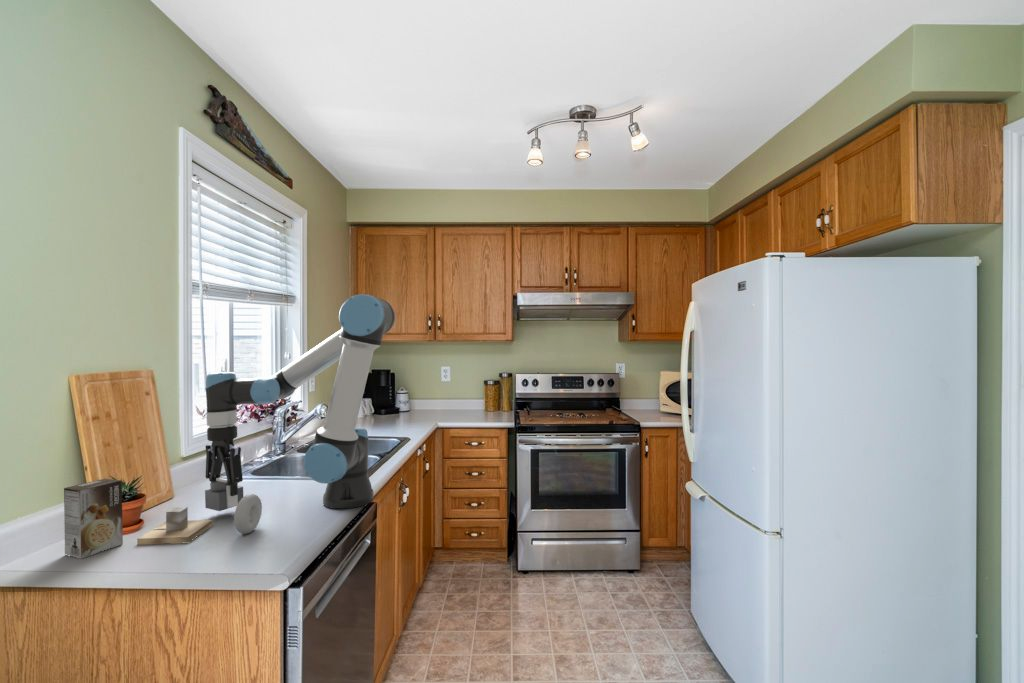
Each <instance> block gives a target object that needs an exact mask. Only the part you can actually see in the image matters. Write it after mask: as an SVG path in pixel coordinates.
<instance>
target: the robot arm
mask: <svg viewBox="0 0 1024 683" xmlns="http://www.w3.org/2000/svg"><path fill="white" fill-rule="evenodd" d="M338 314H339V315H338V319H339V320H338V321H339V324H340V326H341V329H339V330H338V331H336V332H335V333H333V334H332V335H330V336H329V337H327V338H325V339H324V340H323V341H322V342H320V343H319V344H317V345H316V346H314V347H313V348H311V349H310V350H309V351H307V352H305V353H304V354H303V355H301V356H300V357H298V358H297V359H295V360H294V361H292V362H291V363H288V365H286V366H285V367H283V368H282V369H280V370H278V372H276V373H274V374H273V375H269V376H263V377H262V376H261V377H253V378H250V377H249V378H237V376H236V373H235V372H234V371H223V372H211V373H209V374H207V375H206V378H205V388H204V390H205V396H206V399H205V400H206V426H207V427H208V428H206V433H207V434H206V436H207V437H206V438H207V441H208V442H211V444H206V445H205V453H206V458H205V479H206V480H207V479H208V481H209V482H210V483H211V482H214V481H216V478H223V477H222V476H221V473H222V468H223V467H224V471H225V477H226V479H227V480H228V483H227V484H226V493H227V508H228V509H230V508H231V507H232V508H234V507H237V505H238V496H237V494H238V489H237V484H239V483H241V482H243V480H244V479H243V471H242V470H243V469H242V460H241V459H242V458H241V452H242V448H241V446H235V443H234V440H235V439H236V438H238V425H236V424H237V418H238V416H237V415H238V412H237V407H238V405H262V406H263V405H267V404H268V405H269V404H274V403H276V402H277V400H283V399H286V398H288V397H290V396H292V395H293V394H294V393H295V391H296V390H297V389H298V388H299V387H301V386H303V385H304V384H305V383H307V382H308V381H310V380H312V379H313V378H314V377H316V376H317V375H319V374H321V373H322V372H323V371H325V370H326V369H328V368H329V367H331V366H332V365H334V364H336V362H338V366H337V369H336V374H335V378H334V382H333V385H332V389H331V394H330V397H329V401H328V407H327V411H326V413H325V414H326V415H325V418H324V423H323V425H322V426H321V427H318V428H317V429H316V432H315V436H314V440H313V444H312V445H311V446H310V447H309V448H308V449H307V451H306V452H305V455H304V457H303V467H304V468H303V469H304V471H305V472H306V473H307V475H308V477H309V478H310V479H312V480H313V481H314V482H317V483H320V484H324V485H325V484H326V487H325V492H324V494H323V496H322V504H324V505H325V506H324V505H323V506H324V507H326V506H327V507H326V508H328V507H332V508H331V509H335V508H346V509H353V508H359V507H362V506H366V505H368V504H370V503H372V502H373V501H374V498H375V496H374V494H375V493H374V489H373V487H372V484H371V481H370V478H369V471H368V470H369V433H368V431H367V429H366V428H365V427H364V428H362V427H356V425H357V422H358V416H359V413H360V410H361V404H362V401H363V396H364V394H365V389H366V384H367V381H368V376H369V373H370V368H371V364H372V360H373V355H374V351H375V350H377V349H378V348H380V347H381V345H382V341H383V337H384V335H386V334H387V333H389V332H390V331H391V330H392V329H393V327H394V325H395V323H396V312H395V310H394V307H392V305H391V304H390V303H389V302H388V301H387V300H385V299H382V298H380V297H377V296H373V295H371V294H366V293H365V294H355V295H352V296H351V297H349V298H347V299H345V301H344V302H343V303H342V304H341V307H340V310H339V313H338ZM232 508H231V509H232Z"/></svg>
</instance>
